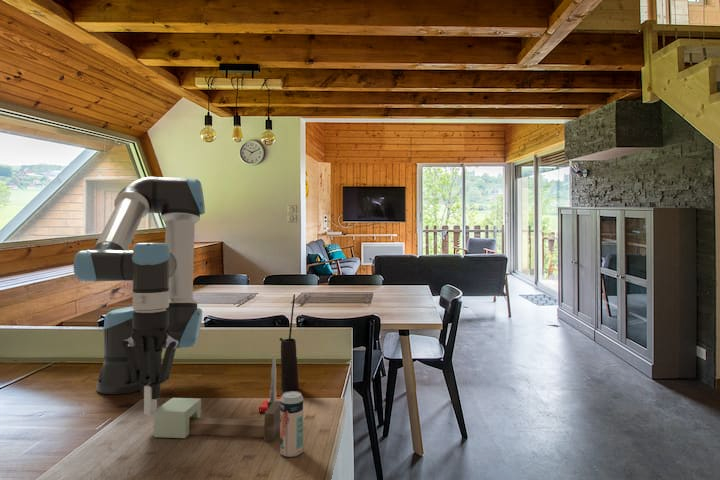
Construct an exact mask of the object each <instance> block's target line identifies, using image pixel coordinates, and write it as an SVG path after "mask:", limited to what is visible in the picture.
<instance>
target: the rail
mask: <svg viewBox="0 0 720 480" xmlns="http://www.w3.org/2000/svg"><path fill="white" fill-rule="evenodd" d="M279 434H280V402H273V403H272V404H271V405H270V407H269V408H268V410H267V411H266V412H264V419H251V418H250V419H247V418H245V419H244V418H243V419H242V418H221V417H220V418H218V417H217V418H216V417H214V418H213V417H211V418H210V417H201V418H190V417H189V435H195V436H196V435H198V436H199V435H201V436H223V437H224V436H228V437H254V438H255V437H256V438H263V439H264V440H263V441H264V442H267V443H268V442H275V440H276V439H277V436H278V435H279Z"/></svg>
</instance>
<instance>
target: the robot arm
mask: <svg viewBox="0 0 720 480" xmlns="http://www.w3.org/2000/svg"><path fill="white" fill-rule="evenodd" d="M205 213H206V206H205V198H204V192H203V186H202V182H201V181H200V180H199V179H198V178H190V177H189V178H187V177H168V176H167V177H164V176H163V177H162V176H147V177H142V178H139V179H136V180H134V181H132V182H130V183H129V184H128V185H126V186H125V187H123V188H122V189H121V190H120V191H119V192H118V193H117V196H116V197H115V200H114V209H113V211H112V213H111V215H110V216H109V218H108V220H107V222H106V224H105V226H104V227H103V230H102V232H101V233H100V236H99V237H98V239H97V241H96V242H95V245H94V246H93V248H92V249H87V250H80V251H77V253H76V254H75V255H74V258H73V264H72V265H73V272H74V276H75V277H76V279H77V280H78V281H82V282H95V283H97V282H118V281H119V282H121V281H122V282H123V281H124V282H125V281H127V282H128V281H129V282H131V281H132V306H127V307H121V308H117V309H113V310H111V311H109V312H107V313H106V314H105V316H104V324H103V328H102V329H103V364H102V368H101V370H100V372H99V375H98V377H97V381H96V391H97V392H98V393H99V394H103V395H104V394H105V395H121V394H128V393H134V392H138V391H140V398H141V400H143V416H151V415H154V411H155V410H156V409H158V399H159V398H160V397H161V384H163V383H165V382H166V381H168V380H169V378H170V375H171V372H172V371H171V370H172V366H173V363H174V359H175V358H174V357H175V354H176V350H177V349H182V348H190V347H194V346H195V345H196V344H197V342H198V340H199V337H200V333H201V328H202V321H203V309H202V308H200V307H198V301H196V300H195V299H194V298H193V296H194V295H193V291H194V290H193V287H194V262H195V261H194V258H195V257H194V256H195V253H194V252H195V229H196V228H195V225H196V224H197V223H198V222H199V221H200V220H201V215H204V214H205ZM148 214H160V218H161V219H162V220H163V222H165V235H164V239H165V240H164V242H137V243H135V244H134V245H133V246H132V247H133V249H132V250H130V246H131V244H132V242H133V239H134V237H135V236H136V232H137V230H138V228H139V226H140V223H141V221H142V219H144V217H146V216H147V215H148ZM163 350H165V352H164V355H163V358H162V354H163Z"/></svg>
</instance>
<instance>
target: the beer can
mask: <svg viewBox="0 0 720 480" xmlns="http://www.w3.org/2000/svg"><path fill="white" fill-rule="evenodd" d="M280 397H281V399H280V431H279V453H280V455H282V456H284V457H285V458H295V457H298V456H299V455H301V454H302V453H303V452H304V396H303V395H302V392H300V391H298V390H297V391H290V392H283V393H282V396H280Z"/></svg>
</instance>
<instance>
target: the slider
mask: <svg viewBox="0 0 720 480" xmlns="http://www.w3.org/2000/svg"><path fill="white" fill-rule="evenodd" d="M153 415H154V417H153V420H154V421H153V437H154V438H169V439H170V438H171V439H173V438H175V439H186V438H187V437H189V435H190V434H189V417H190V418H202V398H193V397H189V398H188V397H172V398H170V399H168V400H167V401H166V402H164V403H163V404H162V405H160V406H159V407H157V409H156V410H155V411H154V413H153Z"/></svg>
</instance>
